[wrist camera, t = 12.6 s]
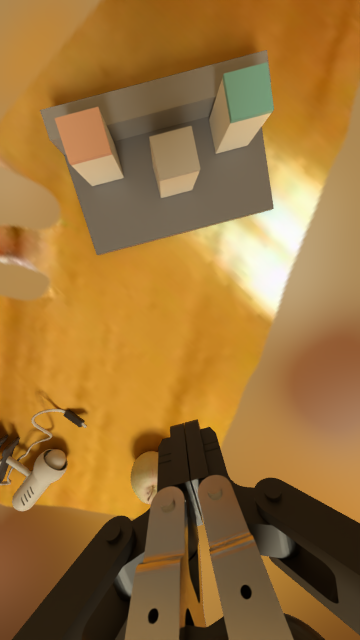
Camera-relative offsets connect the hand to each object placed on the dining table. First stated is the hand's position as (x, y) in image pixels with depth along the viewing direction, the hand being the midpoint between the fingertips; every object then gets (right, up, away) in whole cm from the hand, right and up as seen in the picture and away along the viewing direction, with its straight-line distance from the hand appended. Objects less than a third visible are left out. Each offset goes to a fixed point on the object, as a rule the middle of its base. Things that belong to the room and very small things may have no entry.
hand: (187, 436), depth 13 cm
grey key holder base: (-2, +26, +21) cm, 34 cm away
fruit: (-5, -20, +33) cm, 38 cm away
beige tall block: (-1, +25, +20) cm, 32 cm away
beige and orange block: (-11, +26, +19) cm, 34 cm away
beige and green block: (+6, +31, +19) cm, 37 cm away
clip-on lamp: (-24, -15, +30) cm, 42 cm away
